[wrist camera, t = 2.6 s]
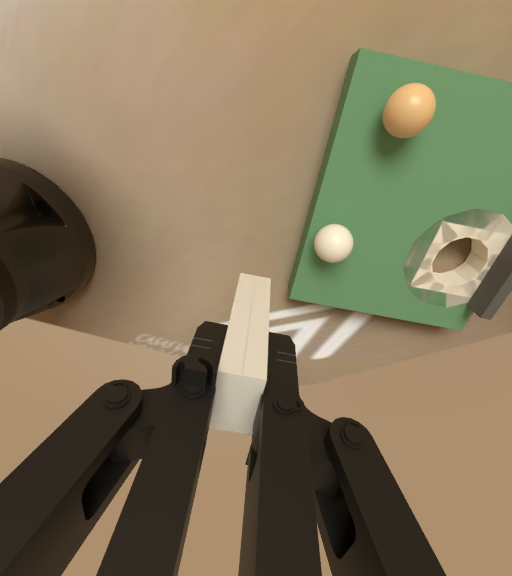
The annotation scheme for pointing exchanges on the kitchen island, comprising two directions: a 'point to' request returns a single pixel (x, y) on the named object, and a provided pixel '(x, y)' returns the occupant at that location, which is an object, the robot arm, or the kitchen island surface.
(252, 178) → the kitchen island surface
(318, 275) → the putting mat
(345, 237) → the ball
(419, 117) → the brown egg
